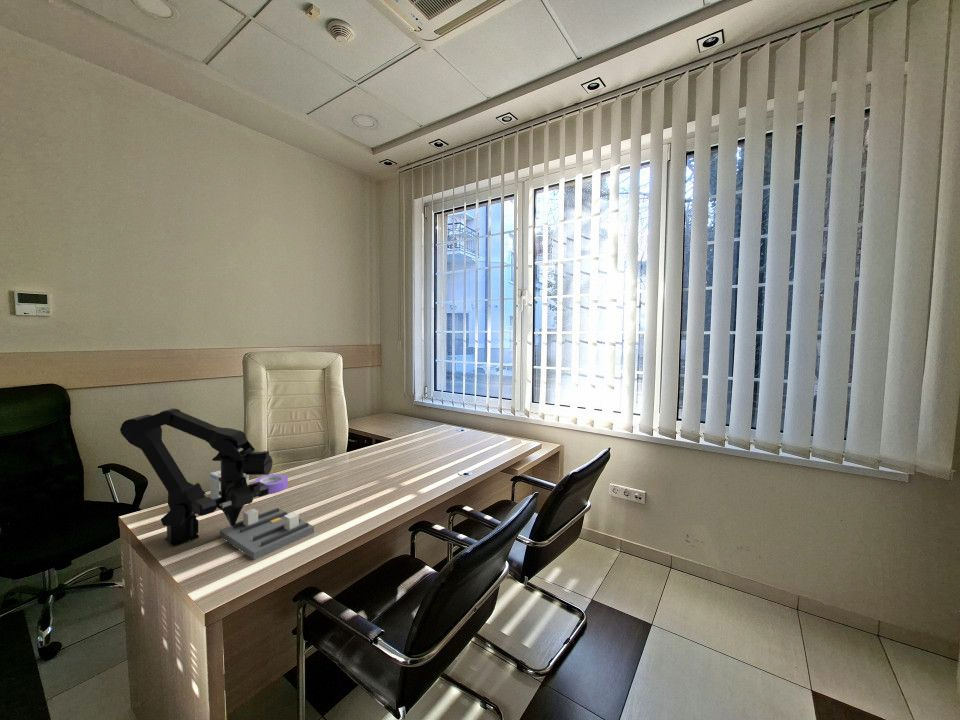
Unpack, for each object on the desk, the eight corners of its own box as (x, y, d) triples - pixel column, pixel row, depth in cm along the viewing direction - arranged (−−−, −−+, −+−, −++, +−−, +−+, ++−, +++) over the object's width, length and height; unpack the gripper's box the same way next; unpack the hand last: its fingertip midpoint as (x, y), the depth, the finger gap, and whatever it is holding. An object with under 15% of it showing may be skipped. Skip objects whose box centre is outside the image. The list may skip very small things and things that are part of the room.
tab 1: (248, 527, 116) (248, 514, 116) (243, 524, 118) (243, 511, 117) (258, 523, 119) (258, 511, 118) (253, 520, 120) (253, 508, 120)
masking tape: (279, 480, 159) (280, 471, 158) (292, 488, 151) (292, 479, 151) (249, 488, 150) (249, 479, 149) (261, 497, 142) (261, 487, 142)
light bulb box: (240, 491, 146) (240, 464, 145) (249, 496, 143) (249, 468, 142) (209, 501, 137) (208, 472, 136) (218, 506, 134) (218, 476, 133)
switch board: (254, 559, 104) (254, 549, 104) (219, 536, 115) (219, 526, 114) (313, 532, 119) (314, 523, 119) (278, 514, 130) (278, 505, 130)
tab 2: (289, 531, 115) (289, 518, 114) (283, 528, 116) (283, 515, 116) (298, 527, 117) (298, 514, 117) (293, 524, 119) (293, 512, 119)
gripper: (208, 491, 100) (209, 548, 101) (278, 471, 116) (278, 521, 117) (190, 481, 106) (191, 535, 108) (259, 463, 122) (259, 510, 123)
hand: (232, 525), depth 114 cm, fingers closed
